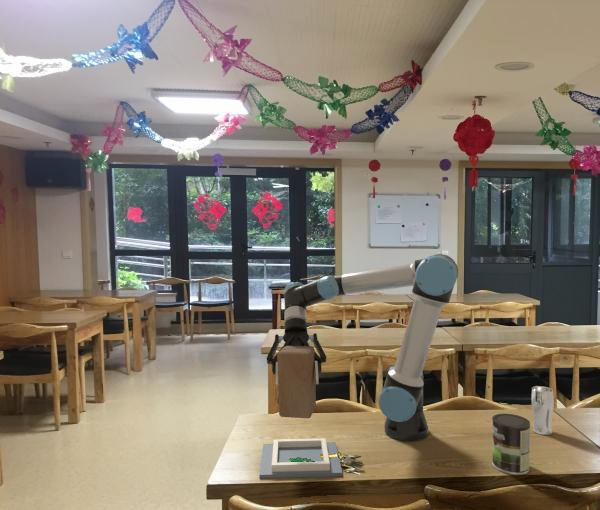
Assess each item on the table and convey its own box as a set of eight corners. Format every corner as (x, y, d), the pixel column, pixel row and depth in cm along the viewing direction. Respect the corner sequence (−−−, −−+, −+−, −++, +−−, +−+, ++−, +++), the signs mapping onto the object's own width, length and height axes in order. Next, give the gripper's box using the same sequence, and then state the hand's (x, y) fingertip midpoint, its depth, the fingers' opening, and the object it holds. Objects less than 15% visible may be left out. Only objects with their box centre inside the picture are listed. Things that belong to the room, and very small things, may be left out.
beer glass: (532, 433, 160) (532, 391, 159) (530, 426, 166) (530, 385, 166) (554, 436, 157) (555, 393, 157) (552, 428, 164) (552, 387, 163)
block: (310, 419, 138) (309, 353, 137) (278, 418, 140) (276, 352, 139) (316, 407, 148) (315, 345, 147) (286, 406, 150) (284, 344, 149)
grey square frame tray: (335, 444, 154) (335, 436, 154) (342, 476, 134) (342, 465, 134) (263, 446, 153) (263, 437, 153) (259, 478, 133) (259, 468, 133)
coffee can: (503, 476, 132) (503, 427, 132) (485, 459, 143) (485, 414, 142) (537, 474, 133) (537, 426, 133) (517, 457, 144) (517, 412, 143)
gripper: (330, 328, 158) (335, 387, 144) (261, 330, 158) (258, 389, 143) (331, 315, 153) (336, 375, 138) (259, 317, 153) (257, 377, 138)
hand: (297, 382), depth 141 cm, fingers closed on block, 11 cm apart
